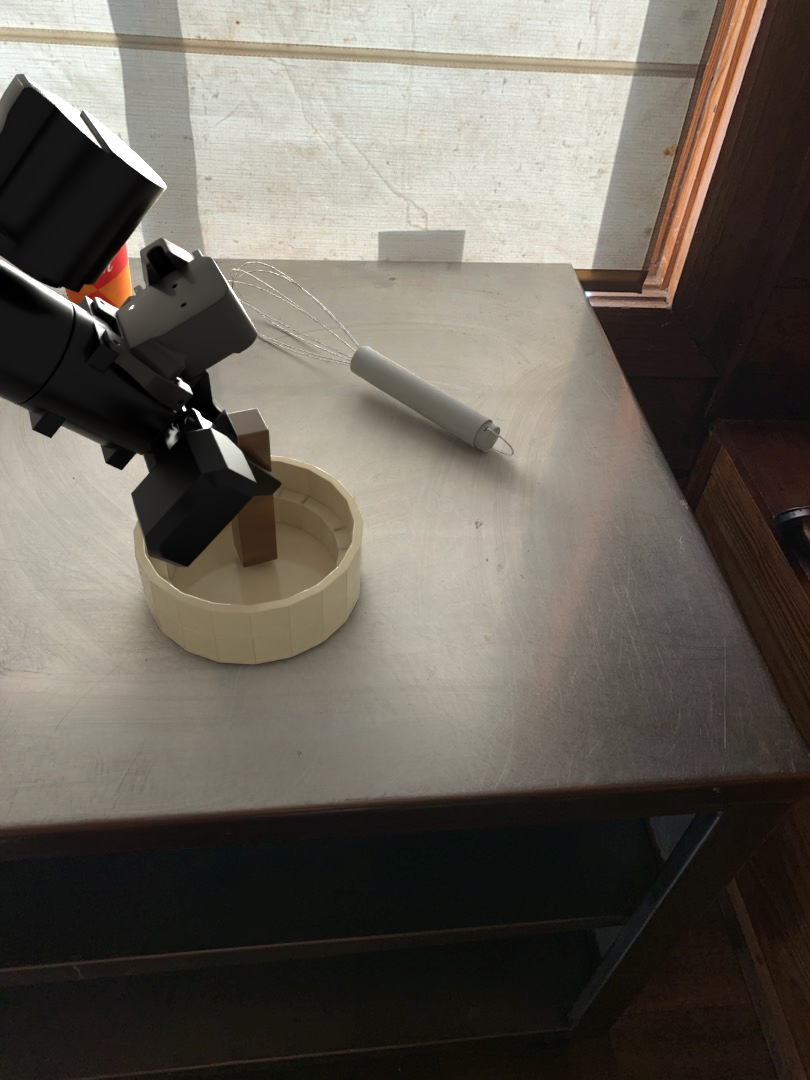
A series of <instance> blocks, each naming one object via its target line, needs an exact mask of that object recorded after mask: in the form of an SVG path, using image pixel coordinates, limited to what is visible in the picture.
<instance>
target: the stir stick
mask: <svg viewBox="0 0 810 1080" xmlns="http://www.w3.org/2000/svg"><path fill="white" fill-rule="evenodd" d="M227 413H228V416H229V418H230V420H231V422H232V424H233V426H234V428H235V430H236V432H237V435H238V437H239V447H240V448H242V449H243V450H244V451H246V452H247V453H248V454H249V455H251V456H252V457H253V458H255V459H256V460H257V461H258V462H260V463H261V464H262V465H264V466H265V467H266V468H267V469H268V470H270V471H271V472H272V467H271V456H272V454H271V453H272V452H271V440H270V439H271V438H270V437H271V436H270V429H269V427H268V425H267V424H266V422H265V420H264V418H263V415H262V414H261V412H260V410H259V408H258V407H254V408H249V409H244V410H238V411H233V412H227ZM231 523H232V531H233V539H234V546H235V548H236V550H237V553H238V555H239V558H240V560H241V563H242V565H243V567H244V568H245V567H249V566H253V565H257V564H260V563H264V562H268V561H272V560H276V559H277V558H278V557H277V542H276V527H275V512H274V497H273V494H272V495H268V496H255V497H253V498H252V499H251V500H250V501H249V503H248V504H247V505H246V506H245V507H244V508H243V509H242V510H241V511H240V512H239V513H238V514H237V515H236V516H235V518H234V519H233V520H232V521H231Z"/></svg>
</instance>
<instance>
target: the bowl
mask: <svg viewBox="0 0 810 1080" xmlns="http://www.w3.org/2000/svg"><path fill="white" fill-rule="evenodd" d="M271 467H272V473H273V474H274V475H275V476H277V477H278V478H279V479H280V481H281V483H282V485H281V486H280V487H279V488H278V490H277V491H276V492H275V493H274V494H273V497H274V512H275V527H276V542H277V557H278V558H277V559H276V560H272V561H268V562H264V563H260V564H257V565H253V566H249V567H245V568H244V567H243V565H242V563H241V560H240V558H239V555H238V553H237V550H236V548H235V546H234V539H233V531H232V523H231V522H230V523H229V524H228V525H227V526H226V527H225V528H224V529H223V530H222V531H221V533H220V534H219V535H218V536H217V537H216V538H215V539H214V540H213V541H212V542H211V543H210V544H209V545H208V546H207V548H206V549H205V550H204V551H203V552H202V553H201V554H200V555H199V556H198V557H197V558H196V559H195V560H194V561H193V562H192V564H191V565H190V566H189V567H177V566H175V565H172V564H169V563H167V562H164V561H161V560H159V559H156V558H153V557H151V556H149V555H148V552H147V549H146V545H145V542H144V539H143V535H142V532H141V529H140V526H139V522H138V520H137V521H136V524H135V526H134V529H133V546H134V557H135V560H136V566H137V568H138V572H139V576H140V580H141V585H142V588H143V592H144V596H145V600H146V604H147V607H148V610H149V612H150V614H151V616H152V617H153V619H154V620H155V621H154V622H155V623H156V624H157V626H158V627H159V630H160V631H161V633H163V634H164V635H165V636H166V637H168V638H169V639H171V640H172V641H173V642H174V643H176V644H177V645H178V646H179V647H181V648H182V649H183V650H184V651H187V652H188V653H191V654H194V655H197V656H200V657H202V658H205V659H208V660H211V661H214V662H217V663H221V664H223V663H225V664H240V665H258V664H259V665H260V664H264V663H270V662H276V661H279V660H284V659H291V658H293V657H296V656H298V655H300V654H302V653H304V652H306V651H308V650H311V649H312V648H314V647H316V646H318V645H320V644H323V643H324V642H325V641H326V640H328V638H330V637H331V636H332V635H333V634H334V633H335V632H337V630H338V629H339V628H340V627H342V626H343V625H344V624H345V623H346V622H347V621H348V619H349V617H350V616H351V613H352V611H353V609H354V608H355V606H356V604H357V602H358V600H359V598H360V594H361V593H360V592H361V583H362V582H361V581H362V568H363V567H362V565H363V540H364V539H363V538H364V537H363V536H364V519H363V516H362V513H361V511H360V509H359V505H358V503H357V501H356V498H355V497H354V496H353V495H352V493H351V492H349V491H350V490H348V489H347V488H346V487H345V486H344V484H342V482H341V481H340V480H339V479H338V478H337V477H335V476H333V475H331V474H330V473H328V472H327V471H324V470H322V469H321V468H320V467H317V466H316V465H314V464H311V463H308V462H304V461H301V460H297V459H294V458H290V457H287V456H283V455H282V456H280V455H271Z"/></svg>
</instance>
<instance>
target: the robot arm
mask: <svg viewBox="0 0 810 1080" xmlns="http://www.w3.org/2000/svg"><path fill="white" fill-rule="evenodd" d="M166 189H167V185H166V183H165V182H164V181H163V179H162V178H161V177H160V175H158V173H156V172H155V170H153V168H152V167H151V166H149V164H148V163H146V162H145V161H144V160H143V158H142V157H140V156H139V155H138V154H137V153H136V152H135V151H134V150H133V149H132V148H131V147H129V146H128V145H127V144H126V143H125V142H124V141H123V140H121V138H119V137H118V136H117V135H116V134H115V133H113V132H112V131H111V130H110V129H108V127H106V126H105V125H104V124H103V123H102V122H100V121H99V120H98V119H97V118H96V117H94V115H92V114H91V113H89V112H88V111H87V110H85V109H84V108H82V110H81V111H79V110H78V109H76V108H75V107H74V106H73V105H71V104H70V103H68V102H67V101H65V100H63V99H62V98H61V97H59V96H58V95H56V94H54V93H52V92H50V91H47V90H45V89H44V88H42V87H41V86H40V85H39V84H37V83H36V82H35V81H33V80H32V79H31V78H30V77H28V76H27V74H25V73H17V74H15V75H14V77H13V78H12V79H11V81H10V83H9V84H8V86H7V88H6V89H5V90H4V92H3V93H2V95H1V98H0V257H1V258H3V259H4V260H6V261H7V262H8V263H10V264H8V263H7V262H6V261H4V260H2V259H0V398H1V399H4V400H6V401H8V402H10V403H13V404H14V405H16V406H17V407H21V408H22V409H25V410H27V411H28V416H29V421H30V425H31V426H30V427H31V431H33V432H36V433H38V434H40V435H42V436H45V437H46V438H49V439H52V438H53V437H54V436H55V434H56V433H57V432H58V431H59V430H60V428H61V427H63V428H65V429H67V430H69V431H71V432H73V433H76V434H78V435H79V436H82V437H84V438H87V439H88V440H90V441H92V442H95V443H97V444H99V445H100V449H101V452H102V456H103V459H104V463H105V464H107V465H108V466H111V467H112V468H115V469H118V470H120V471H123V470H125V467H127V465H129V463H130V462H131V461H132V460H133V458H135V456H136V455H139V456H142V457H143V459H144V462H145V465H146V468H147V472H148V473H147V474H146V476H145V477H144V478H143V479H142V480H141V481H140V483H139V484H138V485H137V486H136V487H135V488H134V489H133V490H132V492H131V493H130V495H131V499H132V504H133V508H134V512H135V516H136V519H137V521H138V522H139V526H140V529H141V532H142V535H143V539H144V542H145V545H146V549H147V552H148V555H149V556H151V557H153V558H156V559H159V560H161V561H164V562H167V563H169V564H172V565H175V566H177V567H189V566H190V565H191V564H192V562H193V561H194V560H195V559H196V558H197V557H198V556H199V555H200V554H201V553H202V552H203V551H204V550H205V549H206V548H207V546H208V545H209V544H210V543H211V542H212V541H213V540H214V539H215V538H216V537H217V536H218V535H219V534H220V533H221V531H222V530H223V529H224V528H225V527H226V526H227V525H228V524H229V523H230V522H231V521H232V520H233V519H234V518H235V516H236V515H237V514H238V513H239V512H240V511H241V510H242V509H243V508H244V507H245V506H246V505H247V504H248V503H249V501H250V500H251V499H252V498H253V497H255V496H268V495H272V494H274V493H275V492H276V491H277V490H278V488H279V487H280V486H281V485H282V483H281V481H280V479H279V478H278V477H277V476H275V475H274V474H273V473H272V472H271V471H270V470H268V469H267V468H266V467H265V466H264V465H262V464H261V463H260V462H258V461H257V460H256V459H255V458H253V457H252V456H251V455H249V454H248V453H247V452H246V451H244V450H243V449H242V448H240V447H239V437H238V435H237V432H236V430H235V428H234V426H233V424H232V422H231V420H230V418H229V416H228V413H229V412H228V411H227V409H225V408H224V407H223V406H222V405H221V403H219V402H218V401H217V399H216V398H214V397H213V393H212V386H211V379H210V373H209V372H208V370H209V369H210V368H212V367H213V366H215V365H216V364H218V363H220V362H221V361H223V360H225V359H226V358H229V357H231V355H233V354H237V355H238V354H239V355H240V354H241V353H243V352H244V351H246V350H247V349H249V348H250V347H252V345H253V344H254V343H255V341H256V340H257V337H258V335H257V332H258V330H257V328H256V326H255V325H254V323H253V322H252V320H251V318H250V316H249V315H248V313H247V311H246V310H245V308H244V306H243V303H242V302H241V301H239V299H240V298H239V297H237V295H236V293H235V291H234V289H233V290H232V286H231V285H229V284H230V283H229V282H227V281H228V280H227V279H226V277H225V275H224V274H223V273H222V271H221V270H220V267H219V266H218V264H217V263H216V261H215V259H214V258H213V257H212V256H210V255H203V254H202V251H201V250H200V249H199V248H197V249H195V250H193V251H192V252H191V254H192V255H191V254H190V252H188V251H187V250H185V249H184V248H181V247H180V246H178V245H176V244H175V243H173V242H171V241H170V240H168V239H166V238H165V237H159V238H157V239H156V240H154V241H153V242H151V243H150V244H149V243H148V245H146V246H145V247H142V248H141V249H140V250H139V255H140V256H139V257H140V264H141V271H142V278H143V282H144V284H145V288H143V287H142V285H141V284H138V285H136V286H134V287H133V290H134V293H135V294H134V295H133V294H132V296H129V297H128V298H127V299H126V301H125V302H124V303H123V304H122V306H121V307H120V308H119V309H117V308H115V307H113V306H111V305H109V304H108V303H106V302H105V301H103V300H102V299H100V298H98V297H95V298H94V300H91V299H90V298H88V297H86V296H85V297H84V298H83V299H82V301H81V302H80V303H79V304H78V306H77V305H75V304H74V303H72V302H71V301H69V299H68V298H67V299H66V298H65V297H64V296H62V295H60V294H58V293H57V292H56V291H54V290H52V289H50V288H54V289H62V288H64V289H65V288H66V289H69V290H71V291H74V292H77V293H79V292H80V290H81V289H82V288H83V286H84V285H85V284H86V285H94V284H95V283H96V282H97V280H98V279H99V278H100V276H101V275H102V274H103V272H104V271H105V270H106V268H107V267H108V266H109V264H110V263H111V262H112V260H113V259H114V258H115V256H116V255H117V254H118V252H119V251H120V250H121V248H122V247H123V246H124V244H125V243H126V244H127V241H128V240H129V239H130V238H131V236H132V235H133V234H134V233H135V231H136V230H137V228H138V227H139V225H140V224H141V223H142V222H143V220H144V219H145V218H146V216H147V215H148V213H149V212H150V211H151V210H152V208H153V207H154V206H155V204H156V203H157V202H158V200H159V199H160V198H161V196H162V195H163V193H164V192H165V190H166ZM47 286H48V287H50V288H48V287H47Z"/></svg>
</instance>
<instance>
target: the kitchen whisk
mask: <svg viewBox="0 0 810 1080" xmlns="http://www.w3.org/2000/svg"><path fill="white" fill-rule="evenodd" d="M248 264H251V265H252V264H260V265H263V266H265V267H268V268H271V269H272V270H274V271H276V272H278V273H276V272H273V271H270V270H262V269H255V270H251V271H245V270H242V268H243V267H245V266H246V265H248ZM234 271H236V273H235V275H234V277H233V274H232V273H233V272H234ZM239 272H241V273H242V274H240V275H239V276H238V273H239ZM256 272H258V273H259V272H260V273H268V274H272V275H274V276H277V277H280V278H282V279H284V280H286V281H288V282H290V283H291V284H293V285H295V286H296V287H298V288H299V289H301V290H302V291H303V292H304V293H306V295H308V296H309V297H310V298H311V299H312V300H313V301H314V302H316V304H317V305H318V306H319V307H320V308H321V309H322V310H324V312H325V313H326V314H327V315H328V316H329V317H330V318H331V319H332V320H333V322H335V323H336V324H337V325H338V326H339V328H340V329H341V330H342V331H343V332H344V334H345V335H347V337H348V338H349V339H350V340H351V341H352V343H353V344H354V345H355V346H356V347H357V348H358V349H357V350H356V349H355V348H353V347H352V346H351V345H349V344H348V343H347V342H346V341H345V340H343V338H341V337H340V336H338V335H337V334H336V333H335V332H333V331H332V330H330V329H329V328H328V327H327V326H325V325H324V324H323V323H322V322H320V321H319V320H318V319H316V318H315V317H314V316H312V315H311V314H310V313H309V312H307V311H305V310H304V309H303V308H302V307H301V306H299V305H298V304H297V303H295V302H293V301H292V300H291V299H289V298H288V297H287V296H285V295H284V294H282V293H281V292H280V291H278V290H277V289H275V288H274V287H272V286H271V285H269V284H268V283H266V282H265V281H263V280H262V279H260V278H258V277H256V276H255V275H253V274H251V273H256ZM229 275H230V278H231V280H227V282H228V284H229V285H230V286H231V288H232V290H233V291H234V287H235V289H236V290H237V292H238V294H239V295H240V296H241V298H242V299H243V300H244V301H243V300H242V299H240V298H238V299H239V301H240V303H241V304H244V305H246V306H247V307H248V308H250V309H252V310H254V311H255V312H256V313H257V314H258V315H260V316H261V317H263V319H265V320H266V321H268V322H270V324H273V325H274V326H276V327H277V328H279V329H281V330H282V331H284V332H286V333H287V334H289V335H291V336H293V337H295V338H297V339H298V340H301V341H303V342H305V343H307V344H309V345H311V346H313V347H315V348H318V349H320V350H322V351H325V352H327V353H330V355H331V354H332V355H333V356H337V357H339V358H342V359H344V360H340V359H336V358H332V357H329V356H325V355H322V354H318V353H314V352H311V351H307V350H304V349H302V348H298V347H295V346H292V345H290V344H287V343H283V342H281V341H279V340H276V339H274V338H271V337H269V336H266V335H264V334H262V333H260V332H258V331H257V336H259V337H260V338H262V339H263V340H265V341H267V342H269V343H271V344H273V345H275V346H277V347H280V348H281V349H285V350H288V351H290V352H293V353H295V354H298V355H301V356H304V357H309V358H311V359H315V360H320V361H324V362H327V363H331V364H332V363H333V364H338V365H343V366H348V367H349V369H350V372H351V373H353V374H354V375H356V376H357V377H359V378H361V379H362V380H364V381H366V382H367V383H369V384H370V385H372V386H374V387H375V388H377V389H379V390H380V391H382V392H383V393H385V394H387V395H388V396H390V397H392V398H393V399H395V400H396V401H398V402H400V403H401V404H403V405H405V406H406V407H407V408H409V409H411V410H413V411H414V412H415V413H417V414H418V415H421V416H422V417H424V418H425V419H427V420H428V421H430V422H432V423H434V424H435V425H437V426H438V427H440V428H441V429H443V430H445V431H446V432H448V433H449V434H451V435H453V436H454V437H456V438H458V439H459V440H461V441H462V442H464V443H466V444H467V445H469V446H471V447H472V448H474V449H480V450H481V451H483V452H485V453H486V452H488V451H490V450H493V451H495V452H497V453H500V454H502V455H505V456H509V457H510V456H513V455H514V454H515V451H514V449H513V447H512V445H511V444H510V443H509V442H508V441H507V440H506V439H504V438H503V437H502V436H501V435H500V434H501V427H500V426H498V425H496V424H495V423H494V422H493V420H492V419H491V418H489V417H487V416H485V415H484V414H482V413H481V412H479V411H477V410H476V409H473V408H472V407H470V406H469V405H468V404H465V403H464V402H462V401H460V400H458V399H457V398H455V397H454V396H452V395H450V394H449V393H447V392H445V391H444V390H442V389H441V388H439V387H437V386H435V385H433V384H432V383H430V382H429V381H427V380H425V379H424V378H422V377H420V376H418V375H417V374H416V373H414V372H412V371H410V370H409V369H407V368H405V367H403V366H401V365H400V364H398V363H396V362H395V361H393V360H392V359H390V358H388V357H386V356H385V355H383V354H382V353H380V352H378V351H376V350H375V349H374V348H371V347H370V346H369V345H362V346H360V344H359V343H358V342H357V340H356V339H355V338H354V337H353V335H352V334H350V332H349V331H348V330H347V329H346V327H345V326H344V325H343V324H342V323H341V322H340V321H339V320H338V319H337V318H336V317H335V316H334V315H333V313H332V312H331V311H330V310H329V309H327V307H326V306H324V305H323V303H321V302H320V301H319V300H318V299H317V298H315V296H313V294H311V293H310V292H309V291H307V290H306V289H304V288H303V287H302V286H301V285H300V284H299V283H297V282H296V281H295V280H294V279H292V278H291V277H290V276H288V275H287V274H285V273H283V272H282V271H280V270H278V269H277V268H275V267H274V266H272V265H270V264H266V263H263V262H261V261H247V262H245V263H244V264H243V265H241V266H240V267H238V268H232V269H231V270H230V272H229ZM245 275H248V276H250V277H251V278H254V279H255V280H256V281H258V282H260V283H261V284H263V285H264V286H266V287H268V288H269V289H271V290H272V291H274V292H275V293H277V294H279V295H280V296H281V297H280V296H278V295H277V294H274V293H273V292H271V291H269V290H266V289H264V288H261V287H260V286H257V285H254V284H251V283H247V282H244V281H237V280H238V279H240V278H241V277H243V276H245ZM237 284H240V285H241V284H242V285H246V286H249V287H253V288H256V289H258V290H261V291H263V292H265V293H268V294H270V295H272V296H273V297H275V298H277V299H279V300H282V301H283V302H285V303H286V304H288V305H290V306H291V307H293V308H295V309H297V310H299V312H301V313H303V314H304V315H306V316H307V317H309V318H310V319H311V320H313V321H314V322H316V323H317V324H318V325H320V326H321V327H322V328H324V329H325V330H327V332H329V333H330V334H332V335H333V336H334V337H336V339H338V340H339V341H340V342H341V343H343V344H344V345H345V346H346V347H347V348H349V349H350V350H351V351H352V352H354V354H353V355H352V356H350V355H349V354H346V353H344V352H342V351H340V350H337V349H335V348H334V347H331V346H329V345H328V344H326V343H323V342H321V341H320V340H319V341H318V340H317V339H314V338H313V337H311V336H308V335H307V334H304V333H303V332H300V331H298V330H297V329H295V328H292V327H291V326H289V325H287V324H285V323H283V322H281V321H279V320H277V319H275V318H273V317H272V316H270V315H268V314H266V313H264V312H262V311H261V310H259V309H257V308H255V307H254V306H253V305H252V304H251V303H250V302H249V301H248V300H247V298H246V297H244V295H243V294H242V293H241V291H240V289H239V287H238V286H237ZM282 297H283V298H282ZM275 322H276V323H275ZM277 323H278V324H280V325H282V326H283V327H281V326H280V325H278V324H277ZM284 327H286V328H288V329H289V330H291V331H293V332H296V333H298V334H300V335H302V336H303V337H305V338H307V339H309V340H311V341H313V342H315V343H318V344H320V345H322V346H324V347H326V348H328V349H330V350H328V349H325V348H323V347H321V346H319V345H316V344H314V343H312V342H310V341H308V340H306V339H303V338H301V337H300V336H298V335H296V334H294V333H292V332H290V331H289V330H287V329H285V328H284ZM288 347H289V348H288ZM291 348H292V349H291ZM331 350H332V351H331ZM333 351H334V352H333ZM335 352H336V353H335ZM338 353H339V354H338ZM340 354H341V355H340ZM345 360H347V361H345ZM349 361H350V362H349ZM498 439H501V440H502V441H503V442H504V443H505V444H506V445H507V446H508V447H509V449H510V450H511V453H507V452H505V451H501V450H500V449H497V448H495V447H493V446H494V445H495V444H496V443H497V441H498Z"/></svg>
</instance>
